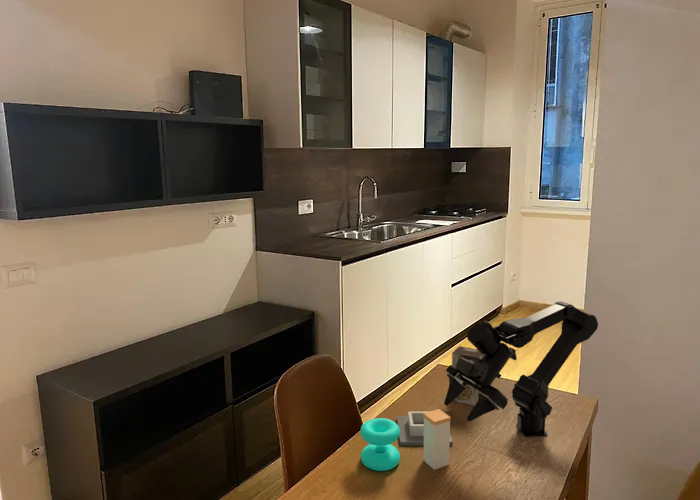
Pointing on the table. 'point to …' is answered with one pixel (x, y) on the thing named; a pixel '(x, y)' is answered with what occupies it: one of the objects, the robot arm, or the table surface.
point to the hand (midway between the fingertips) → (456, 412)
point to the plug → (436, 438)
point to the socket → (412, 428)
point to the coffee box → (471, 393)
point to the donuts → (380, 444)
